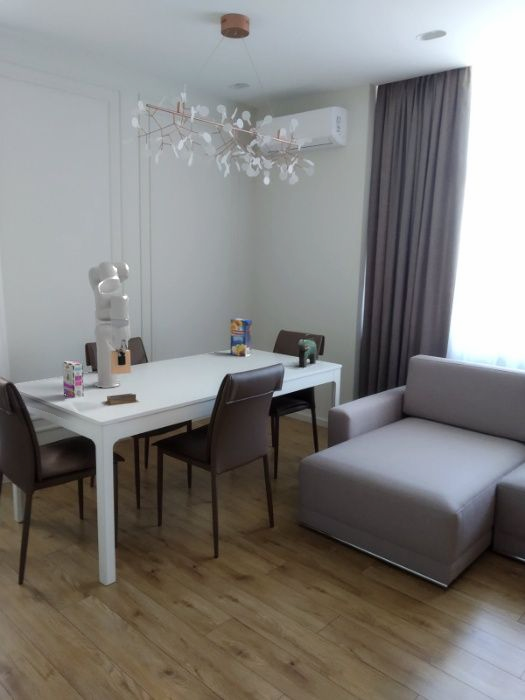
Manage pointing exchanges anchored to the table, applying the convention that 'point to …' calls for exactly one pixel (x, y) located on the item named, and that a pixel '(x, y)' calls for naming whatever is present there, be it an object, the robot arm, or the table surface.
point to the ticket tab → (120, 368)
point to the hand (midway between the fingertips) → (120, 363)
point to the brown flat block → (121, 399)
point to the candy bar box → (73, 378)
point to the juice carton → (241, 337)
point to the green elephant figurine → (307, 351)
